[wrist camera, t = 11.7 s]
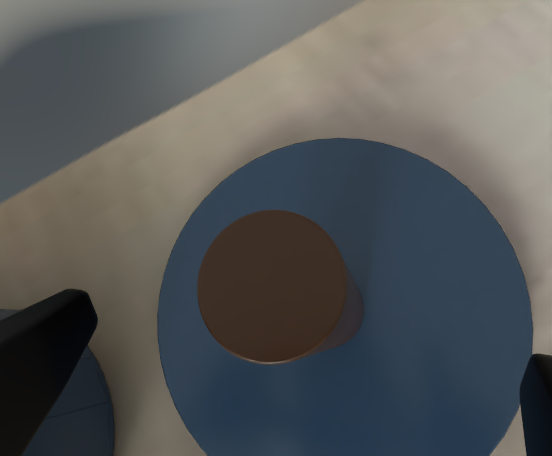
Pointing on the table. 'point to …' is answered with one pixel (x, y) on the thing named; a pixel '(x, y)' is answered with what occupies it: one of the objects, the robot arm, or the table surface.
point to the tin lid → (344, 310)
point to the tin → (77, 414)
